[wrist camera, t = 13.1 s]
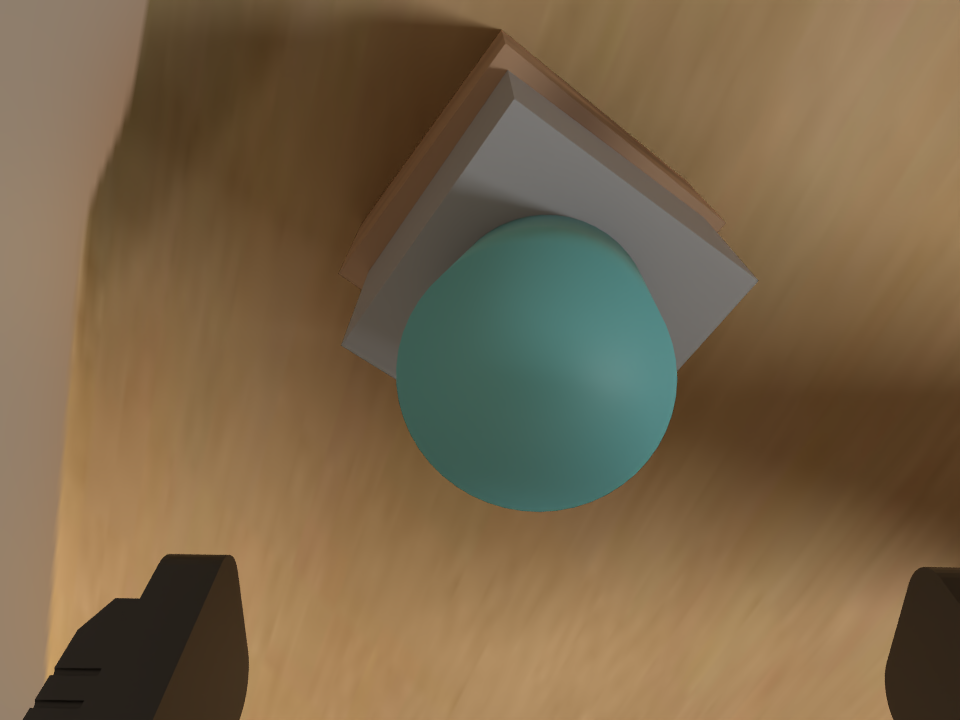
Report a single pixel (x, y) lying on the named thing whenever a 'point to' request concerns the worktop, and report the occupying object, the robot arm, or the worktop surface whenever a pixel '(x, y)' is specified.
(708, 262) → the grey cube
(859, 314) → the worktop surface
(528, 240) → the teal cylinder
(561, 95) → the tower base
